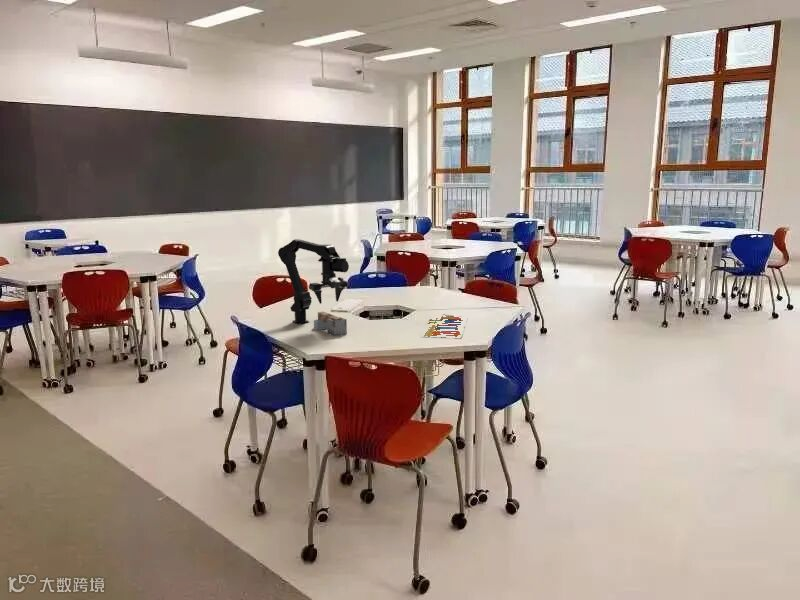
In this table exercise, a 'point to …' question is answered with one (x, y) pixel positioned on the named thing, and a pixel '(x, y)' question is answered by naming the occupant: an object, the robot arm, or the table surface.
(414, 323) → the table surface
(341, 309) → the baseboard
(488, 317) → the table surface
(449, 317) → the multicolored flat board
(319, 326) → the support post
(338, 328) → the cup bracket
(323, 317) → the rail
